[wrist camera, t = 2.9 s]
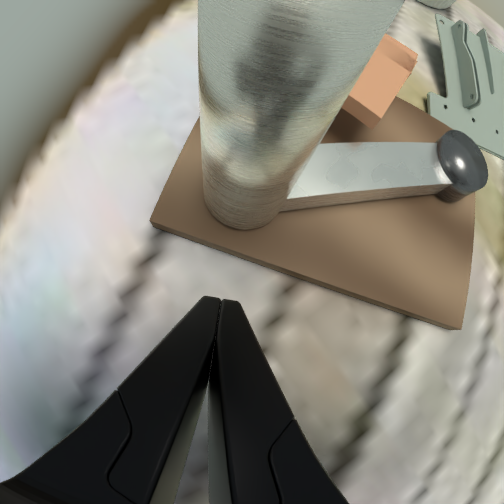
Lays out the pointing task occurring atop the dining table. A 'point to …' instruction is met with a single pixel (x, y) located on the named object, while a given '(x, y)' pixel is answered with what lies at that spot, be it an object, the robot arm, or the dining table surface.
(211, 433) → the robot arm
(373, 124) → the block
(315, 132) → the grey cylinder with bar
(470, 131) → the metal bracket
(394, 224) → the board
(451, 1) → the ramekin
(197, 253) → the dining table surface
